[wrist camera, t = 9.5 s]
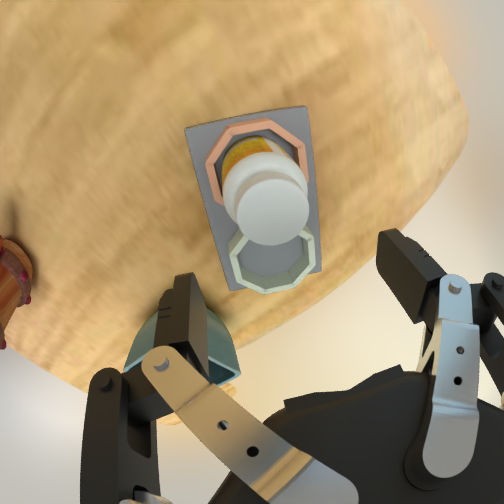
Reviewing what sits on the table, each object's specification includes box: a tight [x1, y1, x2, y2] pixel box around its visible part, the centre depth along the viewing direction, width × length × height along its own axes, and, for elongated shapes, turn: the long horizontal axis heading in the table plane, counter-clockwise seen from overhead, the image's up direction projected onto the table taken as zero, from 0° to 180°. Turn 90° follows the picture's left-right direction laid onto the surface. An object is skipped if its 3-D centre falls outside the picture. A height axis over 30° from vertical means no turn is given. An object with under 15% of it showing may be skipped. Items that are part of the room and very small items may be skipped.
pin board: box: [184, 106, 322, 294], centre depth 25 cm, size 10×17×3 cm, turn 10°
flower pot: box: [123, 308, 241, 387], centre depth 29 cm, size 9×9×9 cm
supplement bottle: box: [222, 135, 309, 246], centre depth 19 cm, size 5×5×10 cm
